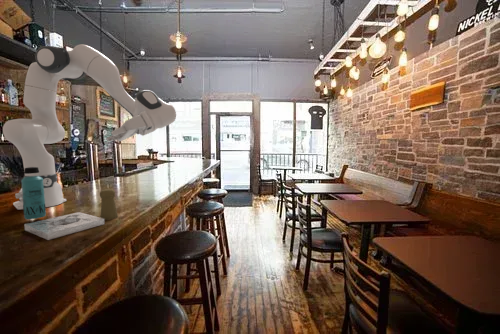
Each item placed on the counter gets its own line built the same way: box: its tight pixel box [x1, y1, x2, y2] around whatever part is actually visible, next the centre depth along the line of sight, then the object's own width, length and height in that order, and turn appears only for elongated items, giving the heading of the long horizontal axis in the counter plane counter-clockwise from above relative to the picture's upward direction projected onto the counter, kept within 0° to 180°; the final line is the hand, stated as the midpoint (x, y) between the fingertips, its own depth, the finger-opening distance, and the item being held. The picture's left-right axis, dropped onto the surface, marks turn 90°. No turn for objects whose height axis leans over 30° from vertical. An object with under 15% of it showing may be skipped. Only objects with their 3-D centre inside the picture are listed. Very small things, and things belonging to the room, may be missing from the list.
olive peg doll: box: [99, 188, 119, 221], centre depth 100 cm, size 6×6×11 cm
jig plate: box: [24, 211, 105, 241], centre depth 90 cm, size 17×17×2 cm
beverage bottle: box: [20, 167, 47, 220], centre depth 96 cm, size 6×7×20 cm
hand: (109, 137), depth 102 cm, fingers open, 8 cm apart
